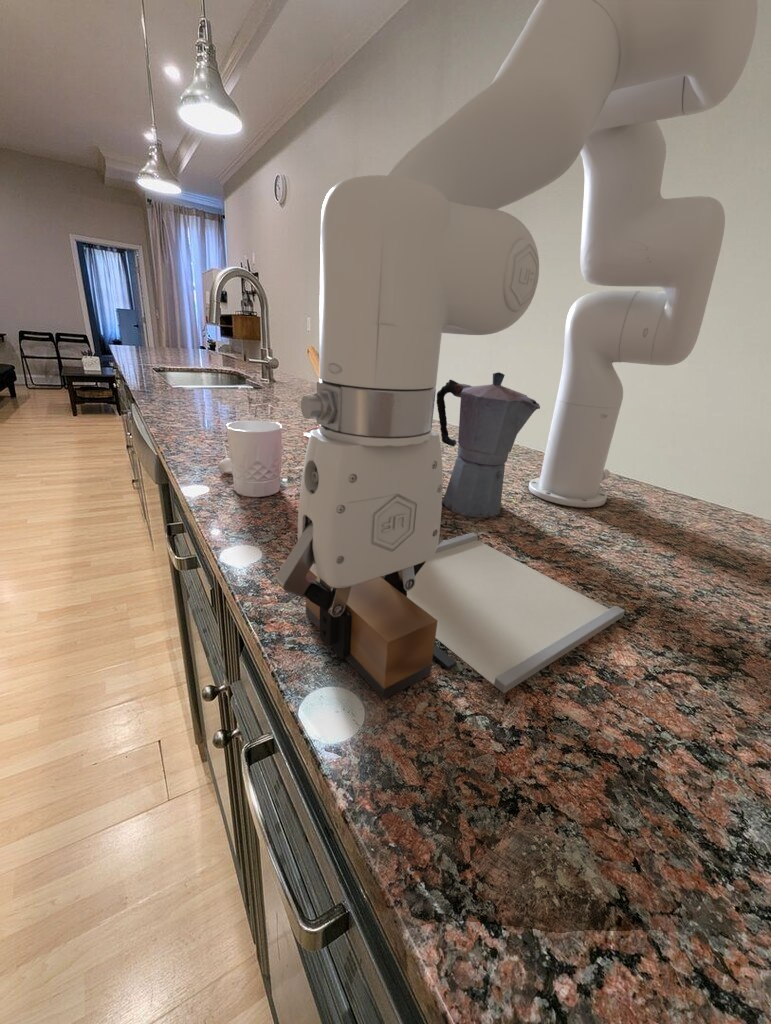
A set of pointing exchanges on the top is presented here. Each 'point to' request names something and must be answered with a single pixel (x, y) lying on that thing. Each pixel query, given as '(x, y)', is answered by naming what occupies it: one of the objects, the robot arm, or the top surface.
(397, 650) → the eraser
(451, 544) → the memo board
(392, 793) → the top surface
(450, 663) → the stroke
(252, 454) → the white cup
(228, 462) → the macaroon
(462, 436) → the moka pot
